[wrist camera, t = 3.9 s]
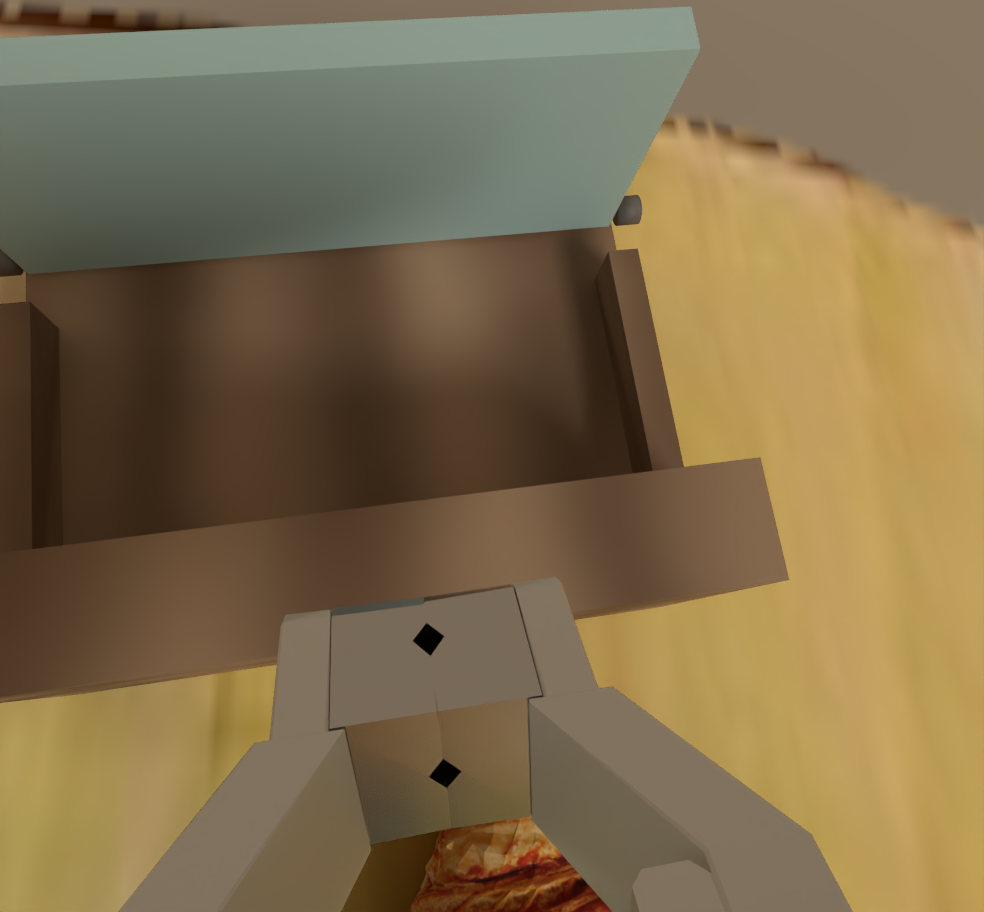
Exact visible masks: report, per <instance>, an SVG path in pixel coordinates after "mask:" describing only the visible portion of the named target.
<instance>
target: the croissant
mask: <svg viewBox="0 0 984 912" xmlns="http://www.w3.org/2000/svg"><path fill="white" fill-rule="evenodd" d="M451 826H452V824H451ZM425 870H426V876H425V878H424V881H423V883H422V885H421V888H420V890H419V892H418V894H417V895H416V897H415V899H414V901H413V902H412V903H411V912H612V911H611V910H610V909H609V907H608V906H607V905H606V904H605V903H604V902H603V901H602V899H601V898H600V897H599V896H598V895H597V894H596V893H595V891H594V890H593V889H592V888H591V887H590V886H589V885H588V884H587V882H586V881H585V880H584V879H583V878H582V877H581V876H580V874H579V873H578V872H577V871H576V870H575V869H574V868H573V866H572V865H571V864H570V863H569V862H568V861H567V860H566V858H565V857H564V856H563V855H562V854H561V853H560V852H559V850H558V849H557V848H556V847H555V846H554V845H553V844H552V843H551V841H550V840H549V839H548V838H547V837H546V836H545V835H544V833H543V832H542V831H541V830H540V829H539V828H538V827H537V825H536V824H535V823H534V822H533V821H532V817H525V818H518V819H511V820H505V821H498V822H491V823H484V824H477V825H470V826H464V827H457V828H450V829H445V830H442V831H441V832H439V834H438V837H437V841H436V847H435V849H434V852H433V854H432V856H431V858H430V860H429V862H428V863H427V865H426V866H425Z"/></svg>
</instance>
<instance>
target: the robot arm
mask: <svg viewBox="0 0 984 912" xmlns="http://www.w3.org/2000/svg"><path fill="white" fill-rule="evenodd" d="M525 817H532V821H533V822H534V823H535V824H536V825H537V827H538V828H539V829H540V830H541V831H542V832H543V833H544V835H545V836H546V837H547V838H548V839H549V840H550V841H551V843H552V844H553V845H554V846H555V847H556V848H557V849H558V850H559V852H560V853H561V854H562V855H563V856H564V857H565V858H566V860H567V861H568V862H569V863H570V864H571V865H572V866H573V868H574V869H575V870H576V871H577V872H578V873H579V874H580V876H581V877H582V878H583V879H584V880H585V881H586V882H587V884H588V885H589V886H590V887H591V888H592V889H593V890H594V891H595V893H596V894H597V895H598V896H599V897H600V898H601V899H602V901H603V902H604V903H605V904H606V905H607V906H608V907H609V909H610V910H611V911H612V912H853V911H852V909H851V908H850V906H849V904H848V902H847V900H846V898H845V896H844V894H843V893H842V891H841V889H840V887H839V885H838V883H837V881H836V879H835V878H834V876H833V874H832V872H831V870H830V868H829V866H828V864H827V863H826V861H825V859H824V857H823V855H822V853H821V851H820V849H819V848H818V846H817V844H816V842H815V840H814V838H813V836H812V834H810V833H809V832H808V831H806V830H805V829H804V828H802V827H801V826H800V825H798V824H797V823H796V822H794V821H793V820H792V819H790V818H789V817H788V816H786V815H785V814H784V813H782V812H781V811H779V810H778V809H777V808H775V807H774V806H773V805H771V804H770V803H769V802H767V801H766V800H765V799H763V798H762V797H761V796H759V795H758V794H757V793H755V792H754V791H753V790H751V789H750V788H748V787H747V786H746V785H744V784H743V783H742V782H740V781H739V780H738V779H736V778H735V777H734V776H732V775H731V774H730V773H728V772H727V771H726V770H724V769H723V768H722V767H720V766H719V765H717V764H716V763H715V762H713V761H712V760H711V759H709V758H708V757H707V756H705V755H704V754H703V753H701V752H700V751H699V750H697V749H696V748H695V747H693V746H692V745H691V744H689V743H688V742H686V741H685V740H684V739H682V738H681V737H680V736H678V735H677V734H676V733H674V732H673V731H672V730H670V729H669V728H668V727H666V726H665V725H664V724H662V723H661V722H660V721H658V720H657V719H655V718H654V717H653V716H651V715H650V714H649V713H647V712H646V711H645V710H643V709H642V708H641V707H639V706H638V705H637V704H635V703H634V702H633V701H631V700H630V699H629V698H627V697H626V696H624V695H623V694H622V693H620V692H619V691H618V690H616V689H615V688H614V687H606V688H598V685H597V683H596V680H595V677H594V674H593V671H592V669H591V666H590V663H589V660H588V657H587V654H586V652H585V649H584V646H583V643H582V640H581V637H580V635H579V632H578V629H577V626H576V623H575V620H574V618H573V615H572V612H571V609H570V606H569V603H568V601H567V598H566V595H565V592H564V589H563V586H562V584H561V582H560V581H559V580H558V579H557V578H556V577H550V578H543V579H537V580H531V581H524V582H518V583H512V586H511V585H510V584H509V585H502V586H495V587H489V588H482V589H475V590H469V591H462V592H455V593H449V594H442V595H435V596H429V597H423V598H415V599H407V600H398V601H390V602H381V603H373V604H364V605H356V606H348V607H339V608H333V610H323V611H314V612H305V613H296V614H287V615H285V617H284V619H283V622H282V624H281V628H280V638H279V648H278V658H277V668H276V678H275V688H274V698H273V708H272V719H271V729H270V739H269V741H264V742H258V743H254V744H253V745H252V747H251V748H250V749H249V750H248V752H247V753H246V754H245V755H244V757H243V758H242V759H241V760H240V762H239V763H238V764H237V765H236V767H235V768H234V769H233V770H232V771H231V773H230V774H229V775H228V776H227V778H226V779H225V780H224V781H223V783H222V784H221V785H220V786H219V788H218V789H217V790H216V791H215V793H214V794H213V795H212V796H211V797H210V799H209V800H208V801H207V802H206V804H205V805H204V806H203V807H202V809H201V810H200V811H199V812H198V814H197V815H196V816H195V817H194V819H193V820H192V821H191V822H190V824H189V825H188V826H187V827H186V828H185V830H184V831H183V832H182V833H181V835H180V836H179V837H178V838H177V840H176V841H175V842H174V843H173V845H172V846H171V847H170V848H169V850H168V851H167V852H166V853H165V855H164V856H163V857H162V858H161V859H160V861H159V862H158V863H157V864H156V866H155V867H154V868H153V869H152V871H151V872H150V873H149V874H148V876H147V877H146V878H145V879H144V881H143V882H142V883H141V884H140V886H139V887H138V888H137V889H136V890H135V892H134V893H133V894H132V895H131V897H130V898H129V899H128V900H127V902H126V903H125V904H124V905H123V907H122V908H121V909H120V910H119V912H341V911H342V909H343V907H344V905H345V903H346V901H347V899H348V897H349V894H350V892H351V890H352V888H353V886H354V884H355V882H356V880H357V878H358V876H359V874H360V872H361V870H362V868H363V866H364V864H365V862H366V860H367V858H368V856H369V854H370V852H371V846H370V845H372V844H376V843H381V842H386V841H391V840H396V839H401V838H406V837H411V836H416V835H421V834H426V833H431V832H435V831H440V830H445V829H450V828H457V827H464V826H470V825H477V824H484V823H491V822H498V821H505V820H511V819H518V818H525ZM451 824H452V826H451Z"/></svg>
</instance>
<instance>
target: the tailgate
mask: <svg viewBox="0 0 984 912" xmlns="http://www.w3.org/2000/svg"><path fill="white" fill-rule="evenodd" d="M699 51H700V45H699V40H698V35H697V31H696V26H695V21H694V17H693V12H692V8H691V7H675V8H655V9H653V8H652V9H632V10H631V9H630V10H608V11H587V12H564V13H543V14H522V15H521V14H520V15H498V16H476V17H453V18H431V19H410V20H387V21H366V22H343V23H323V24H322V23H321V24H301V25H279V26H278V25H277V26H255V27H233V28H210V29H188V30H166V31H144V32H122V33H100V34H78V35H56V36H34V37H12V38H0V249H1V250H2V251H3V252H4V253H5V254H7V255H8V256H9V257H10V258H11V259H12V260H13V261H14V262H15V263H17V264H18V265H19V266H20V267H21V268H22V269H23V270H24V271H25V272H27V273H28V274H39V273H51V272H63V271H75V270H87V269H100V268H112V267H124V266H136V265H148V264H160V263H172V262H184V261H196V260H208V259H220V258H233V257H245V256H257V255H269V254H281V253H293V252H305V251H317V250H329V249H341V248H353V247H366V246H378V245H390V244H402V243H414V242H426V241H438V240H450V239H462V238H474V237H486V236H499V235H511V234H523V233H535V232H547V231H559V230H571V229H583V228H595V227H607V226H609V225H610V223H611V221H612V219H613V217H614V215H615V213H616V211H617V210H618V208H619V206H620V204H621V202H622V200H623V198H624V196H625V194H626V192H627V190H628V188H629V186H630V184H631V182H632V181H633V179H634V177H635V175H636V173H637V171H638V169H639V167H640V165H641V163H642V161H643V159H644V157H645V155H646V153H647V151H648V150H649V148H650V146H651V144H652V142H653V140H654V138H655V136H656V134H657V132H658V130H659V128H660V126H661V124H662V122H663V120H664V119H665V117H666V115H667V113H668V111H669V109H670V107H671V105H672V103H673V101H674V99H675V97H676V95H677V93H678V91H679V90H680V88H681V86H682V83H683V82H684V80H685V78H686V76H687V74H688V72H689V70H690V68H691V66H692V64H693V62H694V60H695V59H696V57H697V55H698V53H699Z"/></svg>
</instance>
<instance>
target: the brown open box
mask: <svg viewBox="0 0 984 912" xmlns="http://www.w3.org/2000/svg"><path fill="white" fill-rule="evenodd" d="M641 215H642V205H641V200H640V197H639V196H638V195H633V196H624V198H623V200H622V202H621V204H620V206H619V208H618V210H617V211H616V213H615V215H614V217H613V222H614V224H615V225H616V226H619V225H631V224H639V222H640V220H641ZM22 273H23V269H22V268H21V267H20V266H19V265H18V264H17V263H15V262H14V261H13V260H12V259H11V258H10V257H9V256H8V255H7V254H5V253H4V252H3V251H2V250H1V249H0V277H2V276H14V275H21V274H22ZM550 577H556V578H557V579H558V580H559V581H560V582H561V584H562V586H563V589H564V592H565V595H566V598H567V601H568V603H569V606H570V609H571V612H572V615H573V618H574V620H576V619H583V618H589V617H596V616H603V615H609V614H616V613H623V612H629V611H636V610H643V609H649V608H656V607H662V606H667V605H671V604H676V603H681V602H686V601H690V600H695V599H700V598H705V597H709V596H714V595H719V594H724V593H728V592H733V591H738V590H743V589H747V588H752V587H757V586H762V585H766V584H771V583H776V582H781V581H786V580H789V577H788V573H787V569H786V564H785V560H784V556H783V552H782V547H781V543H780V539H779V535H778V531H777V526H776V522H775V518H774V514H773V509H772V505H771V501H770V497H769V492H768V488H767V484H766V480H765V476H764V471H763V467H762V463H761V459H760V458H752V459H744V460H736V461H728V462H720V463H712V464H704V465H696V466H688V467H684V466H683V461H682V456H681V452H680V447H679V442H678V437H677V433H676V428H675V423H674V419H673V414H672V409H671V404H670V400H669V395H668V390H667V386H666V381H665V376H664V371H663V367H662V362H661V357H660V352H659V348H658V343H657V338H656V334H655V329H654V324H653V319H652V315H651V310H650V305H649V300H648V296H647V291H646V286H645V282H644V277H643V272H642V267H641V263H640V258H639V253H638V249H629V250H616V245H615V240H614V236H613V231H612V226H611V223H610V225H609V226H607V227H595V228H583V229H571V230H559V231H547V232H535V233H523V234H511V235H499V236H486V237H474V238H462V239H450V240H438V241H426V242H414V243H402V244H390V245H378V246H366V247H353V248H341V249H329V250H317V251H305V252H293V253H281V254H269V255H257V256H245V257H233V258H220V259H208V260H196V261H184V262H172V263H160V264H148V265H136V266H124V267H112V268H100V269H87V270H75V271H63V272H51V273H39V274H28V273H27V272H26V302H20V303H8V304H0V703H2V702H11V701H21V700H30V699H40V698H49V697H59V696H68V695H76V694H83V693H89V692H96V691H103V690H109V689H116V688H123V687H129V686H136V685H143V684H149V683H156V682H163V681H169V680H176V679H183V678H189V677H196V676H203V675H209V674H216V673H223V672H229V671H236V670H243V669H249V668H256V667H263V666H269V665H276V664H277V658H278V648H279V638H280V628H281V624H282V622H283V619H284V617H285V615H287V614H296V613H305V612H314V611H323V610H333V608H339V607H348V606H356V605H364V604H373V603H381V602H390V601H398V600H407V599H415V598H423V597H429V596H435V595H442V594H449V593H455V592H462V591H469V590H475V589H482V588H489V587H495V586H502V585H509V584H510V585H511V586H512V583H518V582H524V581H531V580H537V579H543V578H550Z"/></svg>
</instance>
